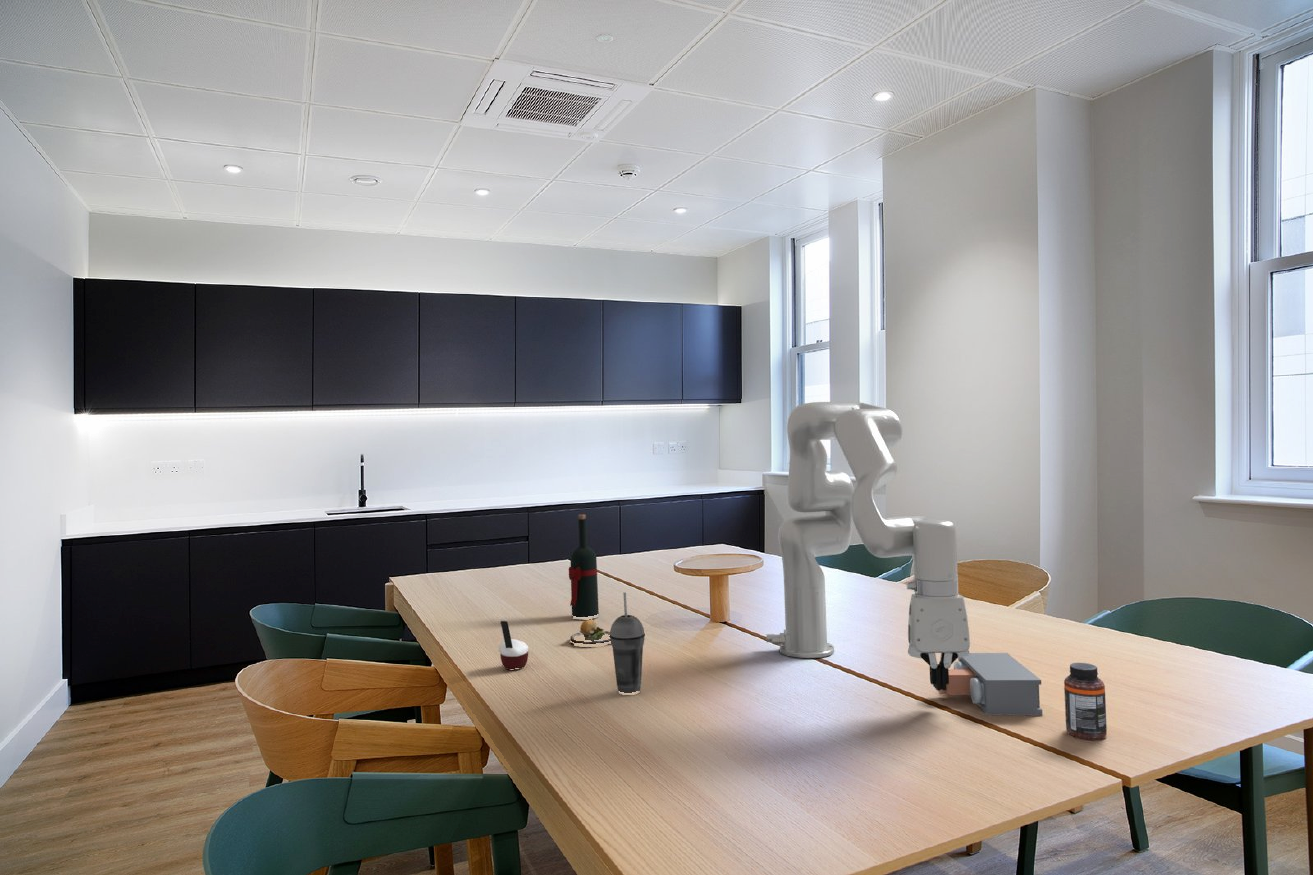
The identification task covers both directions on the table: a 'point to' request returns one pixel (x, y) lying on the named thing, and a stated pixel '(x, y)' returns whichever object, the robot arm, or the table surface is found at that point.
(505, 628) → the cocoa
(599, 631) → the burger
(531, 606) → the table surface
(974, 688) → the plug near
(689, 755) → the table surface
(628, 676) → the beverage cup
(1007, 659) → the socket block
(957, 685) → the plug terracotta
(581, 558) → the wine bottle
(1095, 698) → the supplement bottle
